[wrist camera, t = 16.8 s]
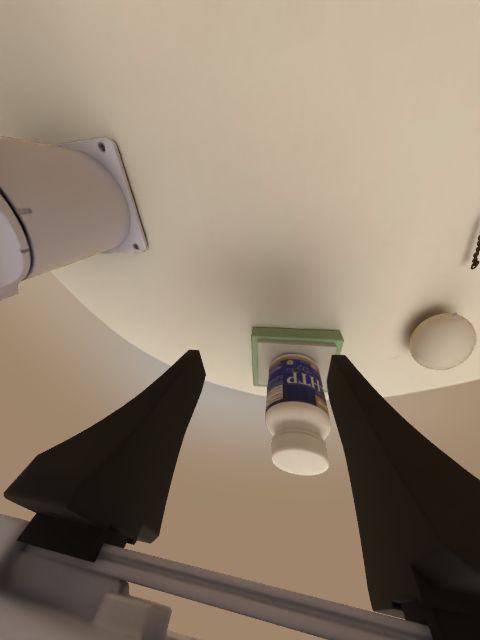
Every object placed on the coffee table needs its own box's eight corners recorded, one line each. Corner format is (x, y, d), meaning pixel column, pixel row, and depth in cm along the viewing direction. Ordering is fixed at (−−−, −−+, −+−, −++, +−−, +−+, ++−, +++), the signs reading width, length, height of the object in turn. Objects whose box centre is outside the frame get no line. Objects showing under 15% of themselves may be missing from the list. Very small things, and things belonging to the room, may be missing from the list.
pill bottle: (329, 364, 20) (358, 464, 13) (301, 391, 23) (311, 485, 16) (283, 344, 20) (285, 436, 12) (260, 374, 23) (251, 463, 15)
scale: (254, 376, 26) (252, 389, 24) (252, 326, 22) (250, 339, 20) (326, 381, 25) (330, 397, 23) (340, 330, 20) (345, 344, 18)
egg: (393, 352, 21) (413, 382, 17) (414, 301, 17) (444, 326, 14) (436, 353, 20) (465, 384, 17) (466, 300, 17) (510, 327, 13)
